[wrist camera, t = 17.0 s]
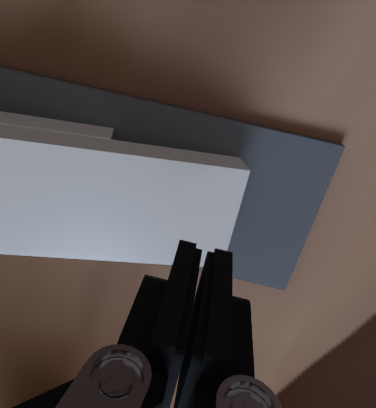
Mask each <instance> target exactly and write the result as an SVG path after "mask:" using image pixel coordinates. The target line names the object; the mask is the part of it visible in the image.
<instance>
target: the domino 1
mask: <svg viewBox="0 0 376 408" xmlns="http://www.w3.org/2000/svg"><path fill="white" fill-rule="evenodd" d="M0 124H4V125H11V126H19V127H26V128H33V129H40V130H47V131H54V132H62V133H69V134H76V135H83V136H90V137H98V138H105V139H113V128H109V127H102V126H96V125H89V124H82V123H76V122H69V121H62V120H56V119H49V118H42V117H36V116H29V115H22V114H16V113H9V112H2V111H0Z"/></svg>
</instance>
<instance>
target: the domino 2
mask: <svg viewBox="0 0 376 408" xmlns="http://www.w3.org/2000/svg"><path fill="white" fill-rule="evenodd" d="M249 174H250V170H249V168H248V167H247V166H246V165H245V163H244V162H243V161H242V160H241V158H240V157H234V156H227V155H219V154H212V153H205V152H198V151H191V150H184V149H176V148H169V147H162V146H155V145H148V144H141V143H133V142H126V141H119V140H112V139H105V138H98V137H90V136H83V135H76V134H69V133H62V132H54V131H47V130H40V129H33V128H26V127H19V126H11V125H4V124H0V254H8V255H23V256H39V257H55V258H70V259H86V260H101V261H117V262H133V263H148V264H164V265H173V261H174V258H175V254H176V251H177V248H178V244H179V241H180V240H184V241H188V242H192V243H196V244H197V245H196V248H197V249H202V255H201V261H200V267H203V266H204V262H205V258H206V255H207V251H210V252H214V250H215V248H217V249H221V250H225V251H227V250H228V246H229V243H230V239H231V236H232V232H233V229H234V226H235V222H236V219H237V215H238V212H239V208H240V205H241V202H242V198H243V195H244V191H245V188H246V184H247V181H248V177H249Z"/></svg>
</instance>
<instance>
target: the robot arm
mask: <svg viewBox="0 0 376 408" xmlns="http://www.w3.org/2000/svg"><path fill="white" fill-rule="evenodd" d="M196 245H197V244H196V243H192V242H188V241H184V240H180V241H179V244H178V248H177V251H176V254H175V258H174V261H173V265H172V268H171V271H170V275H169V278H168V280H165V279H161V278H157V277H153V276H149V275H145V276H144V278H143V281H142V283H141V286H140V288H139V291H138V293H137V295H136V298H135V300H134V303H133V305H132V308H131V310H130V313H129V315H128V318H127V320H126V323H125V325H124V328H123V330H122V333H121V335H120V338H119V340H118V343H117V344H114V345H109V346H106V347H103V348H101V349H99V350H98V351H96V352H94V353H93V355H92V356H91V357H90V358H89V359H88V360H87V361H86V363H85V364H84V366H83V367H82V369H81V370H80V372H79V373H78V375H77V376H76V378H75V379H73V380H71V381H69V382H67V383H65V384H62V385H60V386H58V387H56V388H54V389H52V390H49V391H47V392H45V393H43V394H41V395H39V396H36V397H34V398H32V399H30V400H28V401H26V402H23V403H21V404H19V405H17V406H15V407H13V408H170V405H171V401H172V397H173V394H174V390H175V387H176V383H177V379H178V376H179V380H178V386H177V392H176V398H175V403H174V408H282V407H281V405H280V402H279V400H278V398H277V397H276V395H275V394H274V393H273V391H272V390H271V389H270V388H269V387H268V386H266V385H265V384H264V383H263V382H261V381H259V380H257V379H256V378H255V375H254V358H253V341H252V323H251V306H250V301H249V300H247V299H243V298H238V297H234V296H232V272H233V253H232V252H230V251H225V250H221V249H217V248H215V250H214V252H210V251H207V255H206V258H205V262H204V266H203V269H202V273H201V277H200V281H199V284H198V288H197V292H196V295H195V291H196V285H197V279H198V273H199V267H200V261H201V255H202V249H197V248H196ZM194 297H195V299H194ZM179 372H180V374H179Z"/></svg>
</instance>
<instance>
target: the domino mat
mask: <svg viewBox="0 0 376 408" xmlns="http://www.w3.org/2000/svg"><path fill="white" fill-rule="evenodd" d="M0 111H2V112H9V113H16V114H22V115H29V116H36V117H42V118H49V119H56V120H62V121H69V122H76V123H82V124H89V125H96V126H102V127H109V128H113V139H112V140H119V141H126V142H133V143H141V144H148V145H155V146H162V147H169V148H176V149H184V150H191V151H198V152H205V153H212V154H219V155H227V156H234V157H240V158H241V160H242V161H243V162H244V163H245V165H246V166H247V167H248V168H249V170H250V174H249V177H248V181H247V184H246V188H245V191H244V195H243V198H242V202H241V205H240V208H239V212H238V215H237V219H236V222H235V226H234V229H233V232H232V236H231V239H230V243H229V246H228V250H227V251H230V252H232V253H233V272H232V278H237V279H241V280H245V281H249V282H253V283H257V284H261V285H265V286H269V287H274V288H278V289H282V290H285V288H286V286H287V283H288V281H289V278H290V276H291V274H292V271H293V269H294V267H295V264H296V262H297V259H298V257H299V255H300V252H301V250H302V248H303V245H304V243H305V240H306V238H307V236H308V233H309V231H310V228H311V226H312V224H313V221H314V219H315V217H316V214H317V212H318V209H319V207H320V205H321V202H322V200H323V198H324V195H325V193H326V190H327V188H328V186H329V183H330V181H331V178H332V176H333V174H334V171H335V169H336V167H337V164H338V162H339V159H340V157H341V155H342V152H343V150H344V148H345V146H344V145H342V144H339V143H334V142H330V141H326V140H321V139H317V138H313V137H308V136H304V135H299V134H295V133H291V132H286V131H282V130H277V129H273V128H269V127H264V126H260V125H255V124H251V123H247V122H242V121H238V120H233V119H229V118H225V117H220V116H216V115H211V114H207V113H203V112H198V111H194V110H190V109H185V108H181V107H176V106H172V105H168V104H163V103H159V102H154V101H150V100H146V99H141V98H137V97H132V96H128V95H124V94H119V93H115V92H110V91H106V90H102V89H97V88H93V87H88V86H84V85H80V84H75V83H71V82H67V81H62V80H58V79H53V78H49V77H45V76H40V75H36V74H31V73H27V72H23V71H18V70H14V69H9V68H5V67H1V66H0ZM199 269H200V270H202V269H203V267H199Z"/></svg>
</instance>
